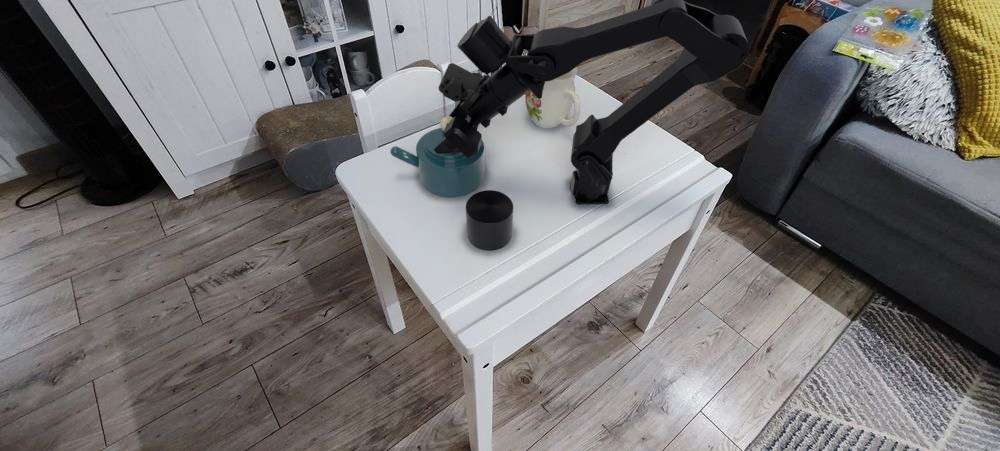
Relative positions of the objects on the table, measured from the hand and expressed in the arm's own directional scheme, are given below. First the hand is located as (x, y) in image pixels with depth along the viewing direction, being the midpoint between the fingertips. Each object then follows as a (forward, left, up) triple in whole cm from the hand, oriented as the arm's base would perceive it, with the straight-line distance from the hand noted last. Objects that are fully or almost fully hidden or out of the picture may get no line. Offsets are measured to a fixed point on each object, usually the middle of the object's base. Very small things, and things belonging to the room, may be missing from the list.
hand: (442, 136), depth 86 cm
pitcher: (-23, -18, -10) cm, 31 cm away
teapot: (+1, -2, -9) cm, 10 cm away
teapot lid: (-1, 0, -1) cm, 2 cm away
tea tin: (-8, +16, -9) cm, 21 cm away
